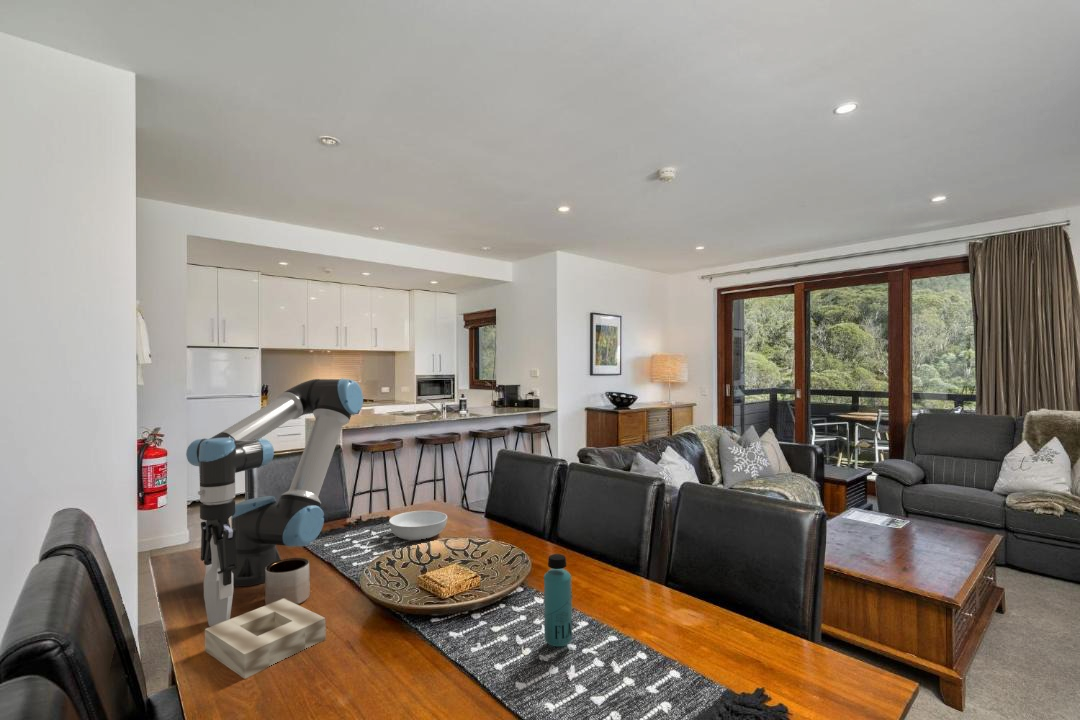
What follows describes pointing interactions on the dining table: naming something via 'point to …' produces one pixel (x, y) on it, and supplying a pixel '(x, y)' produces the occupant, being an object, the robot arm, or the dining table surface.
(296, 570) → the planter
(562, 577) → the beverage bottle
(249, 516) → the robot arm
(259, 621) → the socket block
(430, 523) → the serving bowl
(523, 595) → the dining table surface
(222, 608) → the low poly bottle
